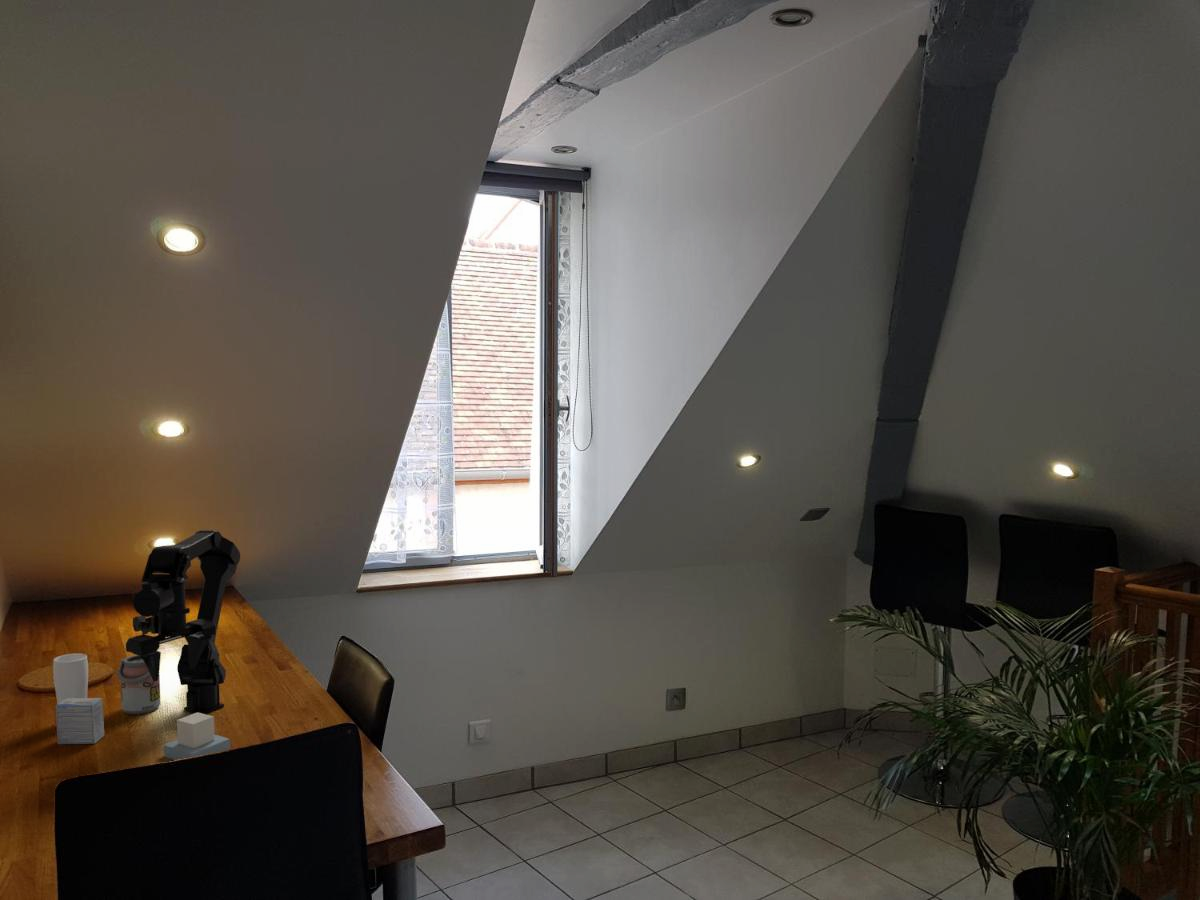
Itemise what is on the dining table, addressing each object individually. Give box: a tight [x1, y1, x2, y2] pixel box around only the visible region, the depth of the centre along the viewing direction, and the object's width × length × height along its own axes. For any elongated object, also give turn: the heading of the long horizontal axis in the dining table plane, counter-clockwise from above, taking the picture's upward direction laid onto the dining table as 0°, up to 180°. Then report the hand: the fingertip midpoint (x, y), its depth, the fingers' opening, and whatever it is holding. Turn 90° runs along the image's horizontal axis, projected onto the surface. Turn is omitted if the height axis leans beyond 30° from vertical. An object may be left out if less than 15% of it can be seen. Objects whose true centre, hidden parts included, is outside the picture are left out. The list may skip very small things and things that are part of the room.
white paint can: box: [116, 654, 161, 715], centre depth 227 cm, size 9×8×12 cm
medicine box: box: [55, 697, 105, 745], centre depth 208 cm, size 8×4×9 cm, turn 92°
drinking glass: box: [52, 653, 89, 705], centre depth 218 cm, size 7×7×15 cm
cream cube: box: [176, 712, 216, 748], centre depth 201 cm, size 5×5×5 cm
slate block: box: [163, 734, 231, 761], centre depth 202 cm, size 9×9×3 cm
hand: (174, 674), depth 213 cm, fingers open, 9 cm apart
